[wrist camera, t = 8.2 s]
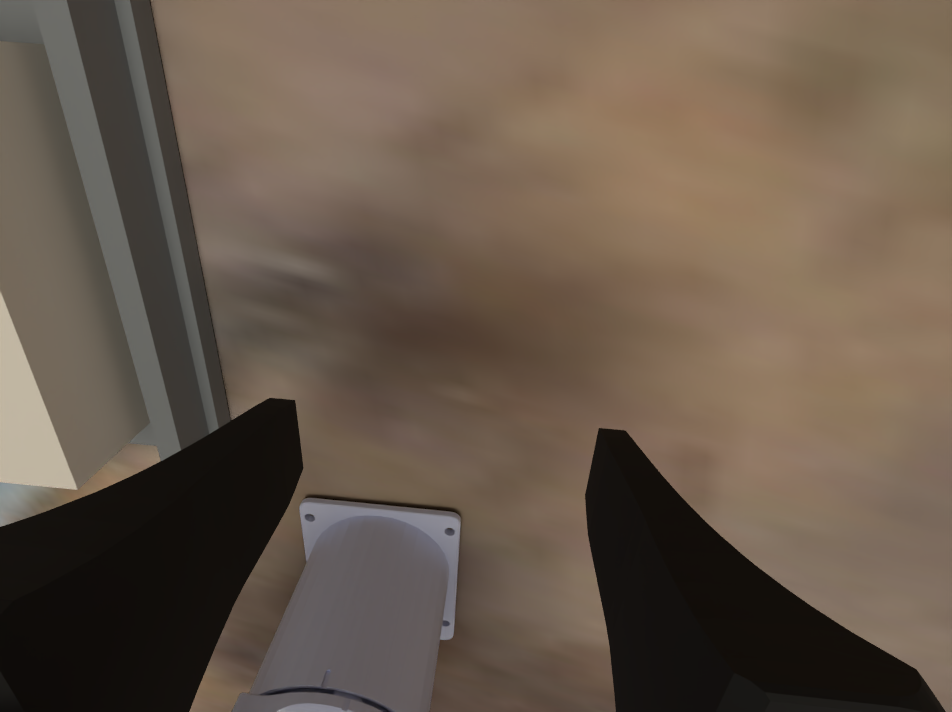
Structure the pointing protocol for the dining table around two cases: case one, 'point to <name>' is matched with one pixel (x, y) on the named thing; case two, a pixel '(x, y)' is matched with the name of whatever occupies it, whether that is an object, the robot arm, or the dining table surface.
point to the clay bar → (54, 297)
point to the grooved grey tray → (134, 201)
